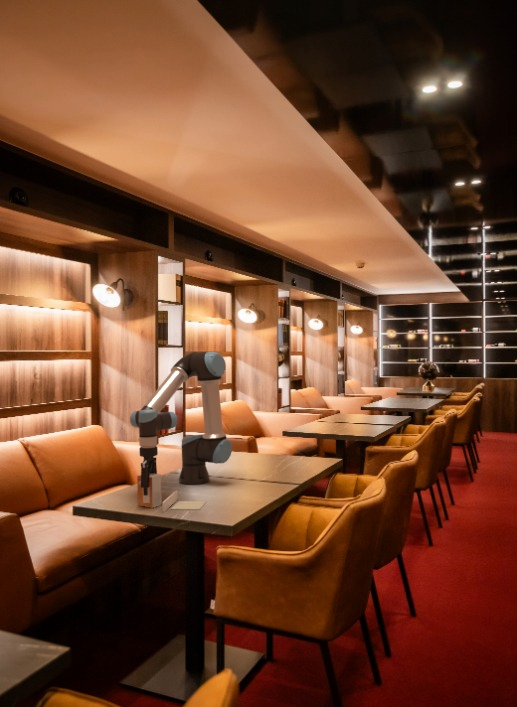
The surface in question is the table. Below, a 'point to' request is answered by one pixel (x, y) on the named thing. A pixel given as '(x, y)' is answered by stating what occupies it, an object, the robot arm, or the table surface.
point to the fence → (170, 501)
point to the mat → (188, 505)
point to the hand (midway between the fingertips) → (149, 500)
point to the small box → (151, 491)
